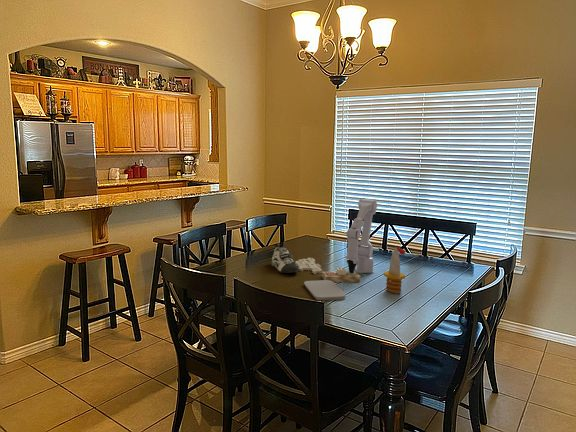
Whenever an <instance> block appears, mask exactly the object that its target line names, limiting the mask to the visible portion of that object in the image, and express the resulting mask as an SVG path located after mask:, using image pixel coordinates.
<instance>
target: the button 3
mask: <svg viewBox="0 0 576 432" xmlns="http://www.w3.org/2000/svg"><path fill="white" fill-rule="evenodd" d="M325 272H326V274H327V275H335V273H334V272H330V271H325Z"/></svg>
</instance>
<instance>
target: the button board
mask: <svg viewBox="0 0 576 432" xmlns="http://www.w3.org/2000/svg"><path fill="white" fill-rule="evenodd" d="M326 272H327V271H322V273H321V277H322V280H330V281H333V282H334V283H349V282H350V283H353V282H354V283H355V282H356V283H357V282H358V283H359V282H361V275H360V273H358V272H357V271H356V270H354V272H355V273H356V275H347V272H349V270H348V271H347V270H346V275H338V274H337V270H334V271H333V270H332V271H329V272H334V273H335V275H327V274H326Z"/></svg>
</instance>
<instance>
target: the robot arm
mask: <svg viewBox="0 0 576 432" xmlns="http://www.w3.org/2000/svg"><path fill="white" fill-rule="evenodd" d="M357 204H358V213H357V217H356V218H354V219H353V222H352V224H351V226H350V228H348V229H347V232H346V238H347V256H345V257H344V259H346V263H347V266H348V271H349V272H350V273H354V271H356V272H357V273H358V274H373V273H374V271H373V270H374V257H372V256H373V252H374V249H373V247H374V246H373V244H372V243H371V242H370V235H371V229H372V222H373V216H374V215H376V212H377V208H378V202H377V200H376V199H367V198H359V200H358V203H357Z"/></svg>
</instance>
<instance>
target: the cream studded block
mask: <svg viewBox="0 0 576 432" xmlns="http://www.w3.org/2000/svg"><path fill="white" fill-rule="evenodd" d="M336 271H337V274H338V275H346V271H347V269H346V268H345V267H336Z"/></svg>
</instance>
